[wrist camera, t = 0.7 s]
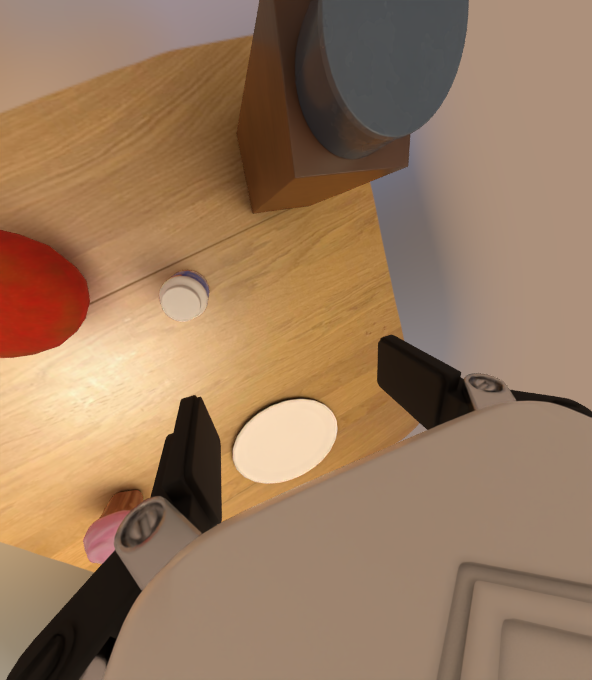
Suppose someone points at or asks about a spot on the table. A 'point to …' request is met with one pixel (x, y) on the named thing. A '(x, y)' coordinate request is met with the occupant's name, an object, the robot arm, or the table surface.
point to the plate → (285, 441)
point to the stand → (293, 125)
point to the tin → (376, 68)
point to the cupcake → (109, 525)
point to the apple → (37, 297)
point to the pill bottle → (184, 295)
